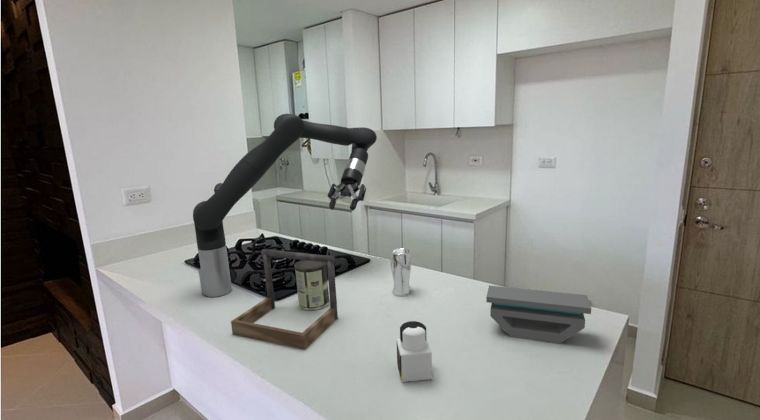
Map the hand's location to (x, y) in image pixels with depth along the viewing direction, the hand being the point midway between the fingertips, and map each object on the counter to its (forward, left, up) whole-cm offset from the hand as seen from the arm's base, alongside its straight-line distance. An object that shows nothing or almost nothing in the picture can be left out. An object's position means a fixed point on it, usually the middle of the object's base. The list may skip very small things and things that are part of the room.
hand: (341, 209), depth 143 cm
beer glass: (+23, -9, -28) cm, 37 cm away
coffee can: (-4, -21, -28) cm, 35 cm away
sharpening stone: (+63, -30, -28) cm, 75 cm away
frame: (-7, -36, -27) cm, 46 cm away
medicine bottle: (+33, -52, -28) cm, 68 cm away
